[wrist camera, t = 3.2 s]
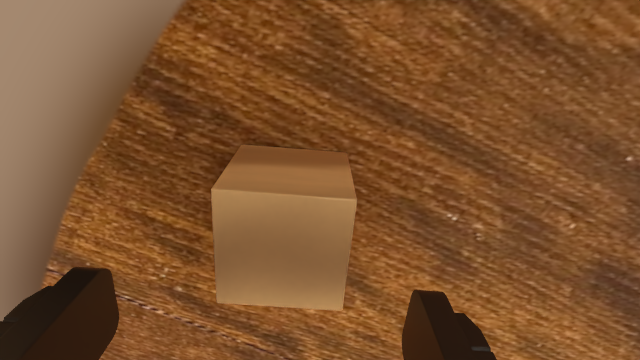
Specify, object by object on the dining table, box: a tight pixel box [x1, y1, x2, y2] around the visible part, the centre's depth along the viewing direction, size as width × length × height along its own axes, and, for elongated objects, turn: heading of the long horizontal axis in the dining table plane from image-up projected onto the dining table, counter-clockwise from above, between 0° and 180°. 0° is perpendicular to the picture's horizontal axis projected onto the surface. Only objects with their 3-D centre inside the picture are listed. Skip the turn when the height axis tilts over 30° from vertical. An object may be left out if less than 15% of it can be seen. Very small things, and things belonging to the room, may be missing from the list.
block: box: [211, 145, 357, 311], centre depth 13 cm, size 4×4×4 cm
